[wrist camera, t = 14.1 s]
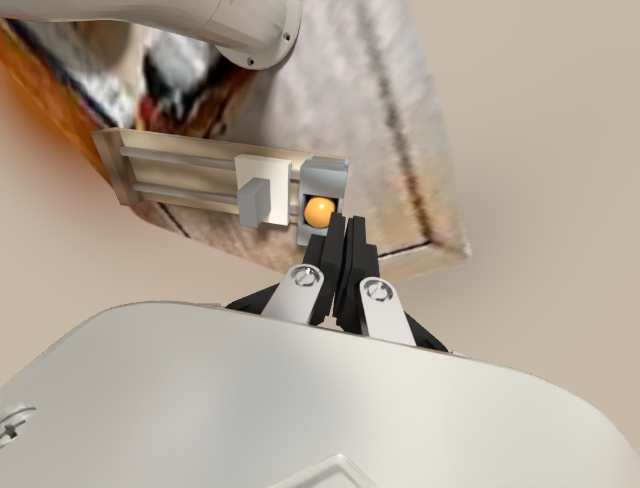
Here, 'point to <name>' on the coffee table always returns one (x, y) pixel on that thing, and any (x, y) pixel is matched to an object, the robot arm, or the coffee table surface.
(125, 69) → the coffee table surface
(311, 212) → the button
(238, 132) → the coffee table surface
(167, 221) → the coffee table surface
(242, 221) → the carriage
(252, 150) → the rail bed
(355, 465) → the robot arm
